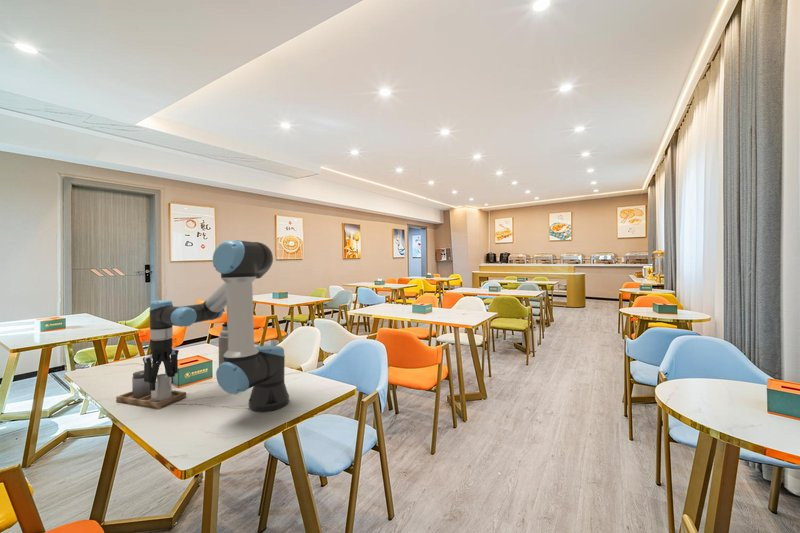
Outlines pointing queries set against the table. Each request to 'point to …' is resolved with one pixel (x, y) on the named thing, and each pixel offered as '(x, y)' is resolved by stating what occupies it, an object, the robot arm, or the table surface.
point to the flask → (162, 389)
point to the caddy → (146, 400)
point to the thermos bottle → (223, 343)
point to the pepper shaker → (140, 386)
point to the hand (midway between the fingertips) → (161, 394)
